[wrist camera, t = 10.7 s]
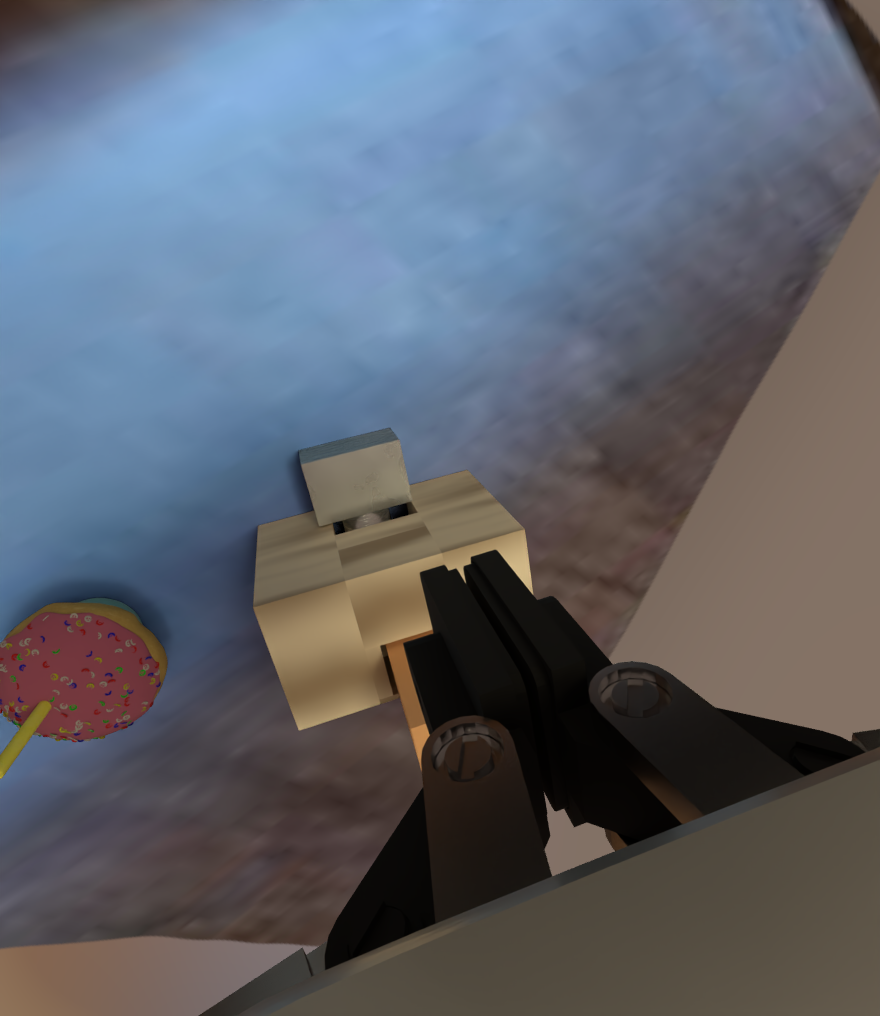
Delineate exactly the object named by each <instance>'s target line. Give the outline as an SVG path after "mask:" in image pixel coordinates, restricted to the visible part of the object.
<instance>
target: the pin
mask: <svg viewBox="0 0 880 1016" xmlns="http://www.w3.org/2000/svg"><path fill="white" fill-rule="evenodd" d="M299 456H300V462H301V466H302V470H303V473H304V477H305V480H306V483H307V487H308V490H309V493H310V497H311V500H312V504H313V507H314V510H315V514H316V517H317V521H318V524H319V527H320V526H324V525H327V524H331V523H334V522H338V521H342V522H343V525H344V529H345V532H349V531H353V530H356V529H360V528H363V527H367V526H371V525H374V524H378V523H382V522H385V521H389V520H391V517H390V513H389V507H393V506H397V505H400V504H404V503H407V502H411V501H412V497H411V492H410V487H409V483H408V478H407V473H406V469H405V464H404V460H403V455H402V450H401V446H400V441H399V439H398V437H397V436H396V435H395V434H394V432H393V431H392V430H391V428H386V429H382V430H378V431H374V432H370V433H366V434H361V435H357V436H353V437H349V438H345V439H341V440H337V441H333V442H329V443H325V444H321V445H317V446H313V447H309V448H305V449H301V450H299Z"/></svg>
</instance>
